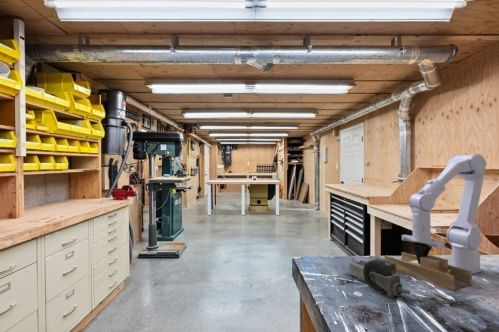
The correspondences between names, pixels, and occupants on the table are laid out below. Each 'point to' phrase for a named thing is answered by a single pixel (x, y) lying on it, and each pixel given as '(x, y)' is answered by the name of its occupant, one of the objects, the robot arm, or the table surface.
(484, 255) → the table surface
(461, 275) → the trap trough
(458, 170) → the robot arm
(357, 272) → the stone block
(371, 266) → the caster wheel
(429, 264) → the walnut block
